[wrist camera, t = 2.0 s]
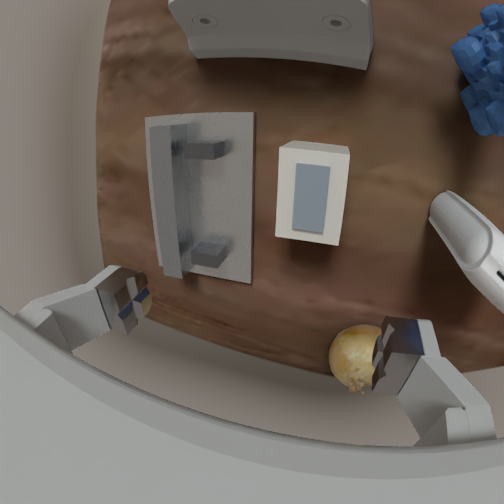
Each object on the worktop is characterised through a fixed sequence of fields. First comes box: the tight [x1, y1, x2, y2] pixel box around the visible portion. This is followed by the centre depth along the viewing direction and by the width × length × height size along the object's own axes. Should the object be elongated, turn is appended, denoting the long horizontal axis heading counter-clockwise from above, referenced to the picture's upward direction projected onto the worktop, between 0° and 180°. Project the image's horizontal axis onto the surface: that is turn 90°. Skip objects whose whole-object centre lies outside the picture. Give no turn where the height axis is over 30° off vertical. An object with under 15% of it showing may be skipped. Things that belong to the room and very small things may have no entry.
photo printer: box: [428, 190, 504, 313], centre depth 17 cm, size 10×4×12 cm, turn 65°
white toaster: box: [168, 0, 374, 70], centre depth 16 cm, size 17×5×10 cm, turn 85°
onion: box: [329, 324, 382, 396], centre depth 29 cm, size 8×8×7 cm
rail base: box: [145, 112, 256, 284], centre depth 28 cm, size 12×18×4 cm, turn 179°
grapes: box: [451, 3, 504, 137], centre depth 11 cm, size 12×7×12 cm, turn 176°
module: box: [275, 141, 350, 246], centre depth 23 cm, size 5×7×6 cm
